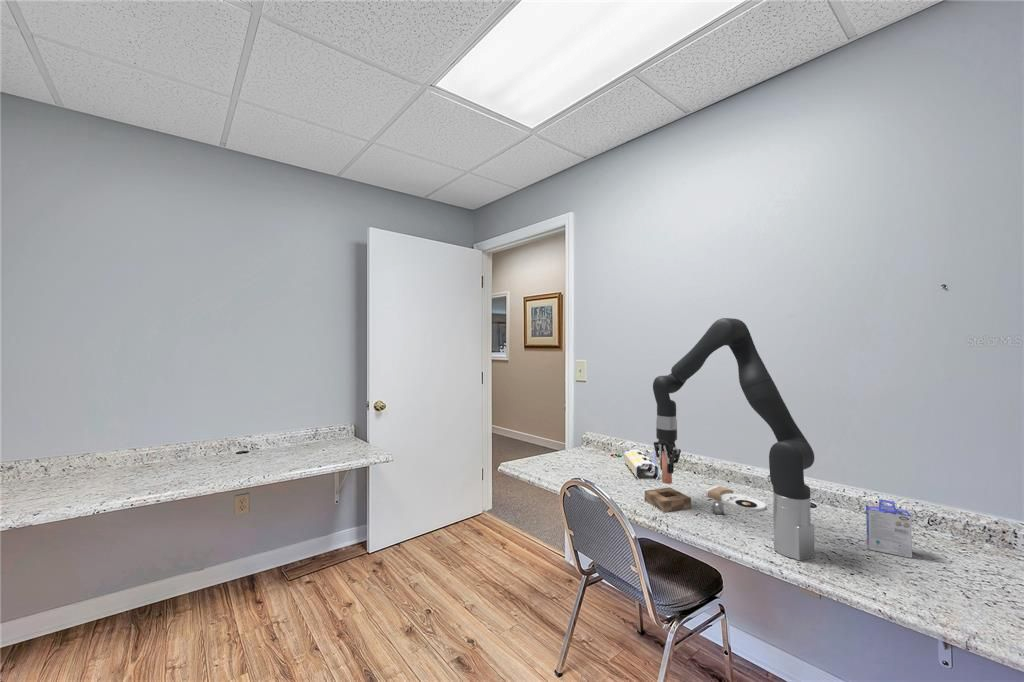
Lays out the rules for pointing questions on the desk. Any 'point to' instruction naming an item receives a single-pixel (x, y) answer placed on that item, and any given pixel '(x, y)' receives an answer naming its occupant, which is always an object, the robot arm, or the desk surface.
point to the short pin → (718, 508)
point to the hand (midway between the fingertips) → (666, 471)
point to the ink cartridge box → (889, 529)
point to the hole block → (667, 499)
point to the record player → (735, 499)
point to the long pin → (665, 470)
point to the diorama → (640, 461)
